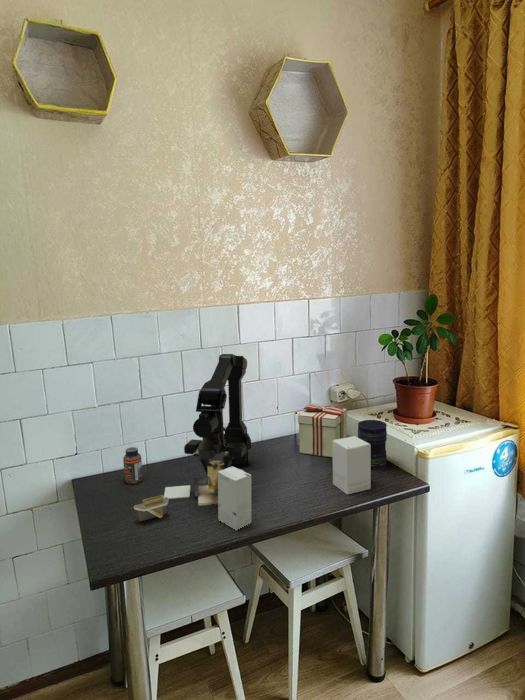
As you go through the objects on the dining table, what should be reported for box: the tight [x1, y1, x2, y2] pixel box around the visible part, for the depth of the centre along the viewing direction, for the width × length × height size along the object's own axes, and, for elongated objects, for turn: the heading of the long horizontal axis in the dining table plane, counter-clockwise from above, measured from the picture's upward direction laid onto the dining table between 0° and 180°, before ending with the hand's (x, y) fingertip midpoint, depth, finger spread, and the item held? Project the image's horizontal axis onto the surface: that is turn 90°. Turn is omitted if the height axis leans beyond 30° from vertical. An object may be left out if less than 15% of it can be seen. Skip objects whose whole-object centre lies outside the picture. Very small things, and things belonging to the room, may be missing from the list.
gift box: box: [297, 403, 348, 458], centre depth 191 cm, size 17×18×17 cm
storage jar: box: [357, 419, 388, 472], centre depth 173 cm, size 10×10×15 cm
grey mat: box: [163, 484, 191, 500], centre depth 159 cm, size 8×8×1 cm
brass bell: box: [207, 460, 224, 492], centre depth 155 cm, size 10×6×7 cm, turn 163°
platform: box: [133, 494, 170, 522], centre depth 142 cm, size 12×18×7 cm, turn 120°
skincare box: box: [217, 466, 252, 531], centre depth 138 cm, size 8×6×15 cm
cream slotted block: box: [193, 477, 218, 507], centre depth 156 cm, size 14×12×5 cm
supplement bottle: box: [122, 446, 144, 485], centre depth 168 cm, size 6×6×11 cm
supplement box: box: [332, 435, 372, 495], centre depth 157 cm, size 9×9×15 cm
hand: (216, 474), depth 155 cm, fingers closed on brass bell, 6 cm apart
